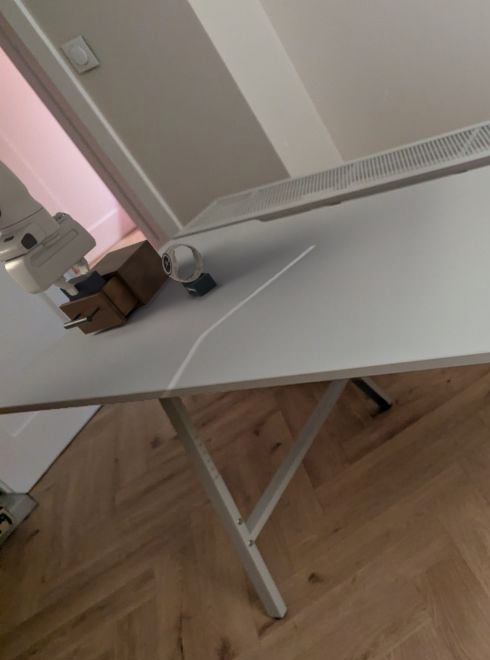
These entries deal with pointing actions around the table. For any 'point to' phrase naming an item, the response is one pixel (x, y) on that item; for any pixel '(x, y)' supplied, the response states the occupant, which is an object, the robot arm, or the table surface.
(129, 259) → the cabinet
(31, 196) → the robot arm
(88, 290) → the black block
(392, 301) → the table surface
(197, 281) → the watch
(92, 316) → the drawer
